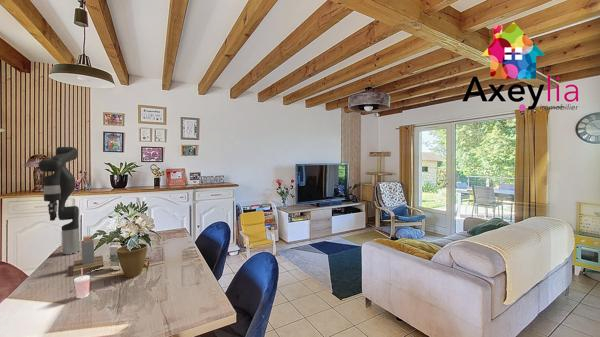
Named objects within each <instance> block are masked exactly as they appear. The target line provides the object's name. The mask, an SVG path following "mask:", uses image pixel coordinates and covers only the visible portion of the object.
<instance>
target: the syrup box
mask: <svg viewBox="0 0 600 337" xmlns="http://www.w3.org/2000/svg"><path fill="white" fill-rule="evenodd" d="M120 244H121V243H115V244H113V245H110V246H109V258H110V260H109V262H110V267H111V266H120V263H119V259H118V255H117V251H116V250H117V249H118V248H120V247H122V246H121V245H120Z"/></svg>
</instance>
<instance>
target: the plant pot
mask: <svg viewBox="0 0 600 337" xmlns="http://www.w3.org/2000/svg"><path fill="white" fill-rule="evenodd" d="M137 244H138V245H140V246H141V248H142V249H139V248H136V247H134V248H132V249H131V251H129V250H128V249H127V245H126V244H125V246H123V247H120V248H118V249H117V250H116V251H117V255H118V259H119V263H120V265H121V268H122V269H121V270H122V272H123V274H124V276H125V277H126V278H129V279H130V278H136V277H139V276H140V275H141V274H142V271H143V269H144V265H145V262H146V257H147V251H148V244H147V243H137Z"/></svg>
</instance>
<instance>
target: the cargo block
mask: <svg viewBox="0 0 600 337" xmlns="http://www.w3.org/2000/svg"><path fill="white" fill-rule="evenodd" d="M91 237H93V236H92V235H86V236H83V237H82V241H83V243H86V242H92V239H93V238H92V239H90V238H91Z"/></svg>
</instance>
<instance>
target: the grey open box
mask: <svg viewBox="0 0 600 337" xmlns="http://www.w3.org/2000/svg"><path fill="white" fill-rule="evenodd" d="M94 256H95V239H94V238H92V242H86V243H83V240H82V241H81V259H82V264H83V265H86V264H91V263H94Z"/></svg>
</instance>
